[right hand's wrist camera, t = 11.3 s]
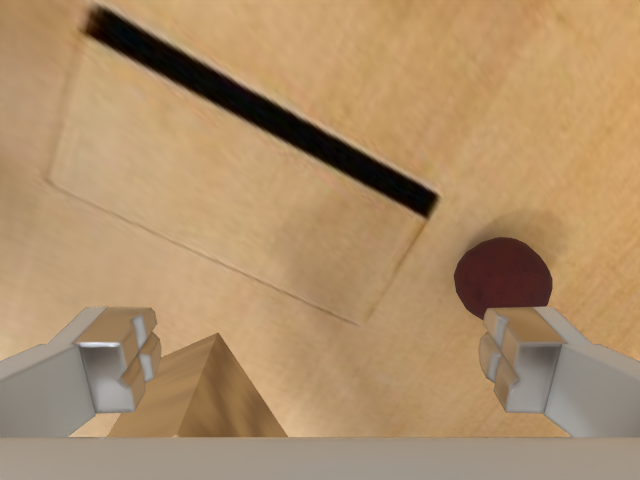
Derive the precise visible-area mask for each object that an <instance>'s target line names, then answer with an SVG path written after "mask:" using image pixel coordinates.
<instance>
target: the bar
mask: <svg viewBox="0 0 640 480" xmlns="http://www.w3.org/2000/svg"><path fill="white" fill-rule="evenodd" d="M145 387H146V392H145V394H144V396H143V398H142V399H141V401H140V403H139V405H138V406H137V408H136V410H135V412H128V413H121V414H120V416H119V418H118V419H117V421H116V423H115V424H114V426H113V428H112V429H111V431H110V433H109V434H108V436H107V437H288V436H287V435H286V433H285V432H284V430H283V429H282V427H281V426H280V424H279V423H278V421H277V420H276V418H275V417H274V415H273V414H272V412H271V411H270V409H269V408H268V406H267V405H266V403H265V402H264V400H263V399H262V397H261V396H260V394H259V393H258V391H257V390H256V388H255V387H254V385H253V384H252V382H251V381H250V379H249V378H248V376H247V375H246V373H245V372H244V370H243V369H242V367H241V366H240V364H239V363H238V361H237V360H236V358H235V357H234V355H233V354H232V352H231V351H230V349H229V348H228V346H227V345H226V343H225V342H224V340H223V339H222V337H221V336H220V334H219V333H216V334H214V335H212V336H209V337H207V338H205V339H203V340H200V341H198V342H196V343H194V344H191V345H189V346H187V347H184V348H182V349H180V350H178V351H175V352H173V353H171V354H169V355H166V356H164V357H162V358H161V360H160V364H159V368H158V371H157V373H156V374H155V376H154V378H153V379H151V380H150V381H148V382H146V383H145Z"/></svg>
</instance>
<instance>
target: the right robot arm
mask: <svg viewBox="0 0 640 480" xmlns="http://www.w3.org/2000/svg"><path fill="white" fill-rule="evenodd" d="M156 325H157V320H156V315H155V311H154V310H153V309H152V308H144V307H87V308H85V309H84V310H83V311H82V312H81V313H80V314H79V315H77V316H76V317H75V318H74V319H73V320H72V321H71V322H70V323H69V324H68V325H67V326H66V327H65V328H64V329H63V330H62V331H61V332H60V333H59V334H57V335H56V336H55V337H54V338H53V339H52V340H51V341H50V342H49V343H48V344H40V345H37V346H35V347H33V348H30V349H28V350H26V351H23V352H21V353H19V354H16V355H14V356H12V357H9V358H7V359H5V360H2V361H0V480H640V361H638V360H635V359H633V358H631V357H628V356H626V355H624V354H621V353H619V352H617V351H614V350H612V349H610V348H607V347H605V346H603V345H600V344H592V343H591V342H590V341H589V340H588V339H587V338H586V337H585V336H584V335H583V334H582V333H580V332H579V331H578V330H577V329H576V328H575V327H574V326H573V325H572V324H571V323H570V322H569V321H568V320H567V319H566V318H565V317H564V316H563V315H562V314H561V313H559V312H558V311H557V310H556V309H555V308H553V307H550V306H546V307H511V308H487V310H486V312H485V314H484V320H483V325H484V326H485V328H486V329H487V331H488V332H487V333H486V334H485V335H484V336H483V337H482V338H481V339H480V345H479V360H480V365H481V368H482V371H483V373H484V374H485V376H486V378H487V379H489V380H490V381H492V382H494V383H495V387H494V392H495V394H496V396H497V398H498V399H499V401H500V403H501V405H502V406H503V408H504V410H505V412H511V413H545V414H544V415H545V416H546V417H547V418H549V419H550V420H551V421H553V422H554V423H555V424H556V425H558V426H559V427H560V428H562V429H563V430H564V431H566V432H567V433H568V434H569V435H571V436H572V437H68V436H69V435H71V434H72V433H73V432H75V431H76V430H77V429H79V428H80V427H81V426H82V425H84V424H85V423H86V422H88V421H89V420H90V419H92V418H93V417H94V416H95V415H96V414H95V413H128V412H135V410H136V408H137V406H138V405H139V403H140V401H141V399H142V398H143V396H144V394H145V392H146V387H145V383H146V382H148V381H150V380H151V379H153V378H154V376H155V374H156V373H157V371H158V368H159V364H160V360H161V344H160V339H159V338H158V337H157V336H156V335H155V334H154V333H153V332H152V331H153V329H154V328H155V326H156Z"/></svg>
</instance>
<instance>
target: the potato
mask: <svg viewBox="0 0 640 480" xmlns="http://www.w3.org/2000/svg"><path fill="white" fill-rule="evenodd" d="M454 280H455V286H456V292H457V294H458V296H459V298H460V299H461V301H462V302H463V304H464V306H465V307H466V309H467V310H468V311H470V312H471V313H472V314H474V315H475V316H477V317H479V318H480V319H482V320H484V314H485V312H486V310H487V308H511V307H546V306H547V304H548V302H549V298H550V295H551V292H552V277H551V274H550V271H549V269H548V268H547V266H546V264H545V263H544V261H543V260H542V259H541V257H540V256H539V255H538V254H537V253H536V252H535V251H533V250H532V249H531V248H530V247H529V246H528V245H527V244H525V243H523V242H521V241H518V240H516V239H512V238H499V237H498V238H495V239H491V240H488V241H485V242H482V243H480V244H479V245H477V246H476V247H474V248H473V249H471V250H470V251H468V252H467V253H466V254H465V255H464V256H463V257H462V259H461V260H460V261H459V263H458V265H457V268H456V271H455V274H454Z"/></svg>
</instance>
